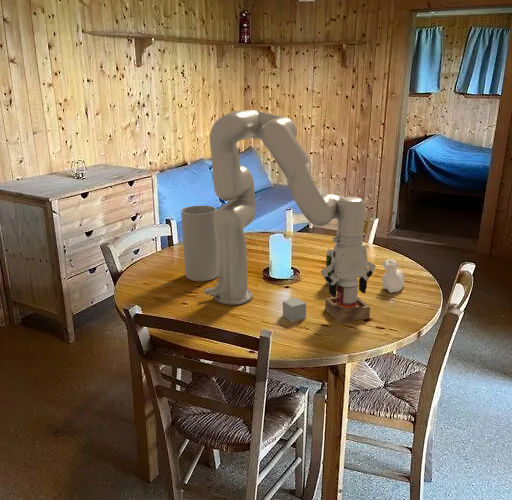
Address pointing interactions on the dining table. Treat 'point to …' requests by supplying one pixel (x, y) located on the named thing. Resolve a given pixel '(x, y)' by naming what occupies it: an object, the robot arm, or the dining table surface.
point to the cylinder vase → (199, 243)
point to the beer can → (329, 263)
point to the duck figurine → (392, 276)
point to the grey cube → (294, 309)
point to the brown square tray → (347, 310)
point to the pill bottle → (347, 293)
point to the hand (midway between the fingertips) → (347, 293)
